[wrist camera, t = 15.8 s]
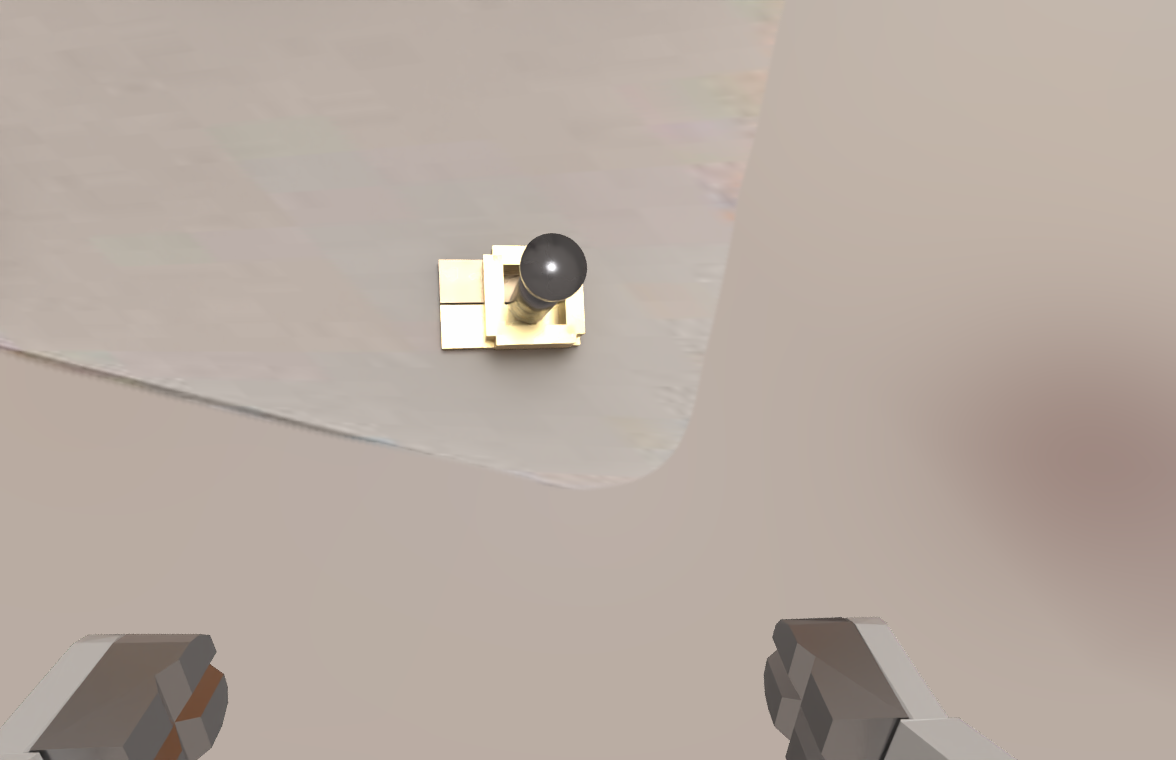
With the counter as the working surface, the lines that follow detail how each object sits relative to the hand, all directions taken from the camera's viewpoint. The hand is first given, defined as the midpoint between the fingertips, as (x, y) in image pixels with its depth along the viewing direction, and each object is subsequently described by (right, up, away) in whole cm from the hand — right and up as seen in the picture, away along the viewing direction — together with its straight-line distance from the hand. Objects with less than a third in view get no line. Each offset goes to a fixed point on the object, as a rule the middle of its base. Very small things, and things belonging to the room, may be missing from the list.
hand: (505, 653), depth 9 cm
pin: (-4, +10, +39) cm, 41 cm away
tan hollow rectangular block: (-5, +10, +40) cm, 41 cm away
